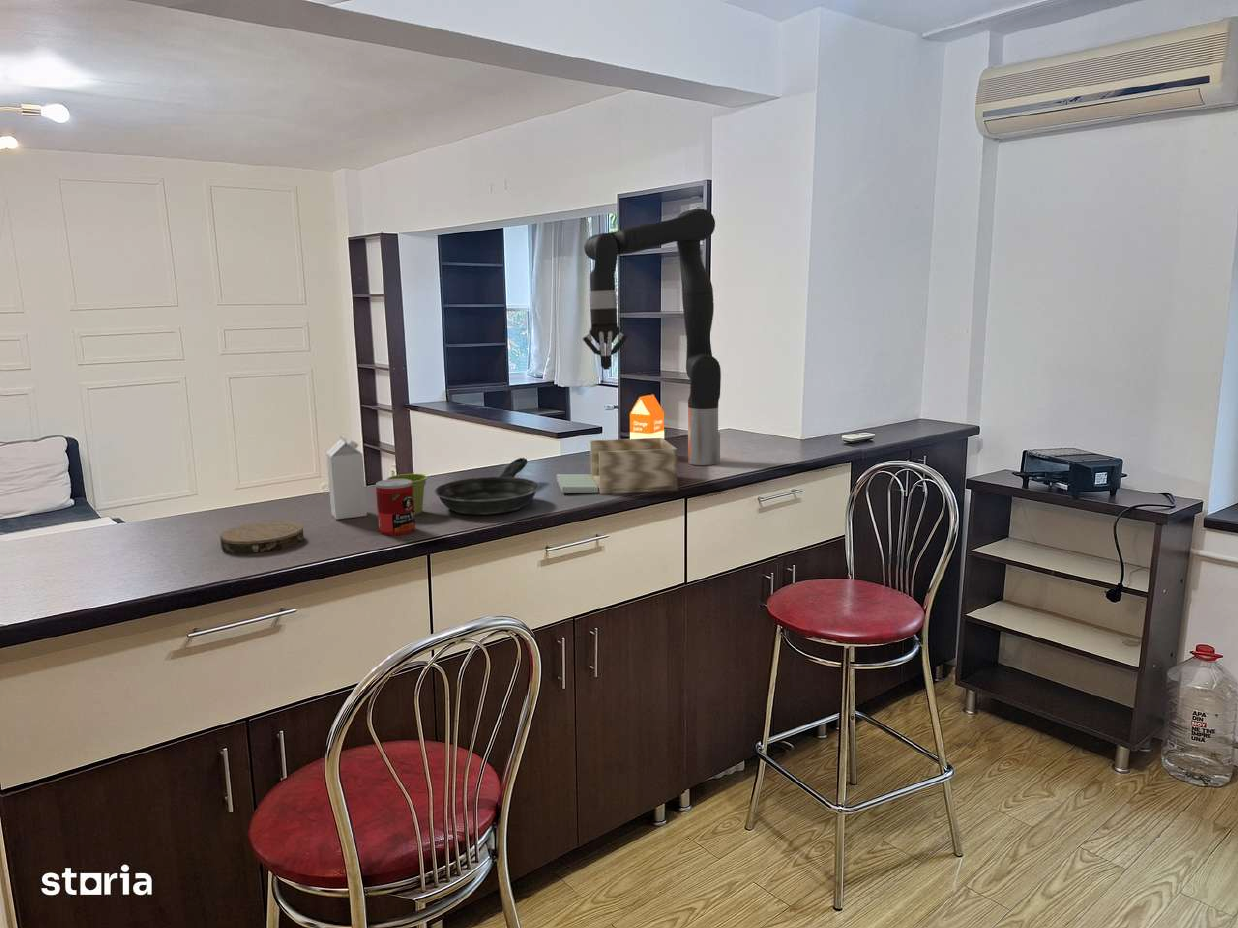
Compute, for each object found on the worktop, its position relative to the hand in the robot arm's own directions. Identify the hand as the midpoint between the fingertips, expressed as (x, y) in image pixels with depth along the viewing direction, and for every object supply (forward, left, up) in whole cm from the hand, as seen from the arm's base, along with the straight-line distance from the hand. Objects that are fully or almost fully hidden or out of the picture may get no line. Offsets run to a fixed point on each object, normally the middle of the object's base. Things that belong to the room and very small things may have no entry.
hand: (606, 369), depth 233 cm
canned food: (+54, +52, -31) cm, 81 cm away
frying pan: (+32, +27, -31) cm, 52 cm away
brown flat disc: (+81, +56, -31) cm, 104 cm away
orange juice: (-16, -23, -31) cm, 41 cm away
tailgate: (+6, +16, -29) cm, 34 cm away
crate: (-4, +16, -30) cm, 35 cm away
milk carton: (+67, +35, -31) cm, 82 cm away
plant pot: (+53, +36, -31) cm, 71 cm away
